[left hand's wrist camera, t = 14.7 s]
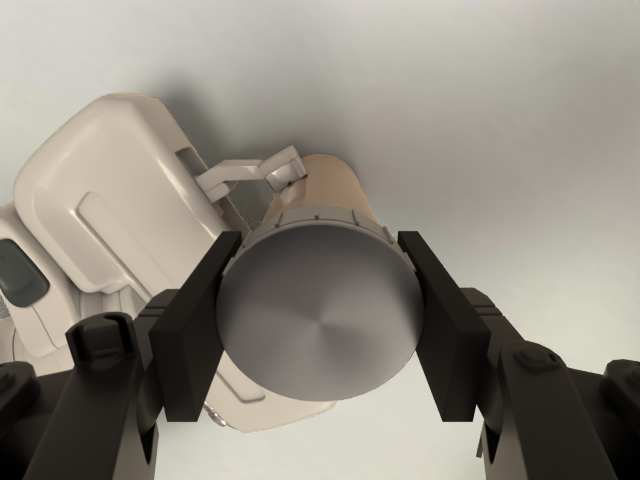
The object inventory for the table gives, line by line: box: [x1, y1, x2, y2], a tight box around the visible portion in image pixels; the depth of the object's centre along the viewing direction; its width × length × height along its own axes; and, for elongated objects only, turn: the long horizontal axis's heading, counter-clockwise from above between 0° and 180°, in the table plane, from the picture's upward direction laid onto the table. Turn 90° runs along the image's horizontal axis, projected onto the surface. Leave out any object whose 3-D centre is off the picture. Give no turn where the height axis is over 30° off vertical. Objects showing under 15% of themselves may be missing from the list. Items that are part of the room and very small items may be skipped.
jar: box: [261, 153, 379, 224], centre depth 18 cm, size 6×6×15 cm
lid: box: [215, 203, 425, 402], centre depth 11 cm, size 6×6×2 cm
